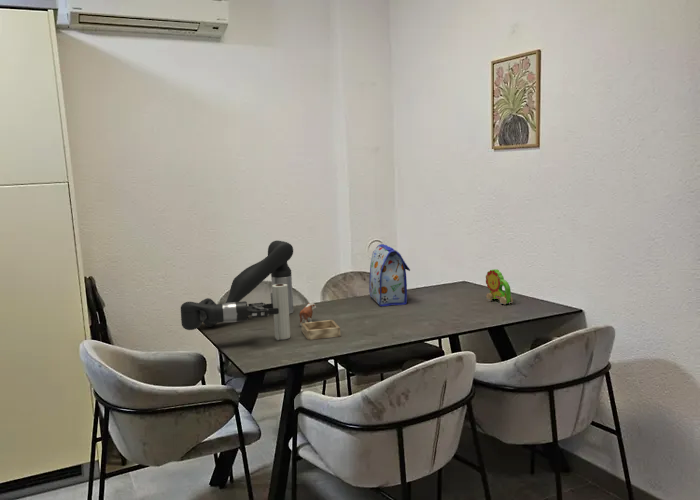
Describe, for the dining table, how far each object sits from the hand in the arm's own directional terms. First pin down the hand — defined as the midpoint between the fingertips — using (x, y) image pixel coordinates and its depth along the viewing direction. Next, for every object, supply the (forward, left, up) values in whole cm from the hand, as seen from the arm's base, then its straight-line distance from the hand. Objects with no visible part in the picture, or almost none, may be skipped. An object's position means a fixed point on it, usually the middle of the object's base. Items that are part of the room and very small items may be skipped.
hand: (277, 308), depth 242 cm
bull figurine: (+2, +24, -12) cm, 27 cm away
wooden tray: (+14, +10, -12) cm, 21 cm away
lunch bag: (+24, +71, -12) cm, 76 cm away
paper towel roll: (+1, +1, -12) cm, 12 cm away
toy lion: (+75, +78, -12) cm, 109 cm away
